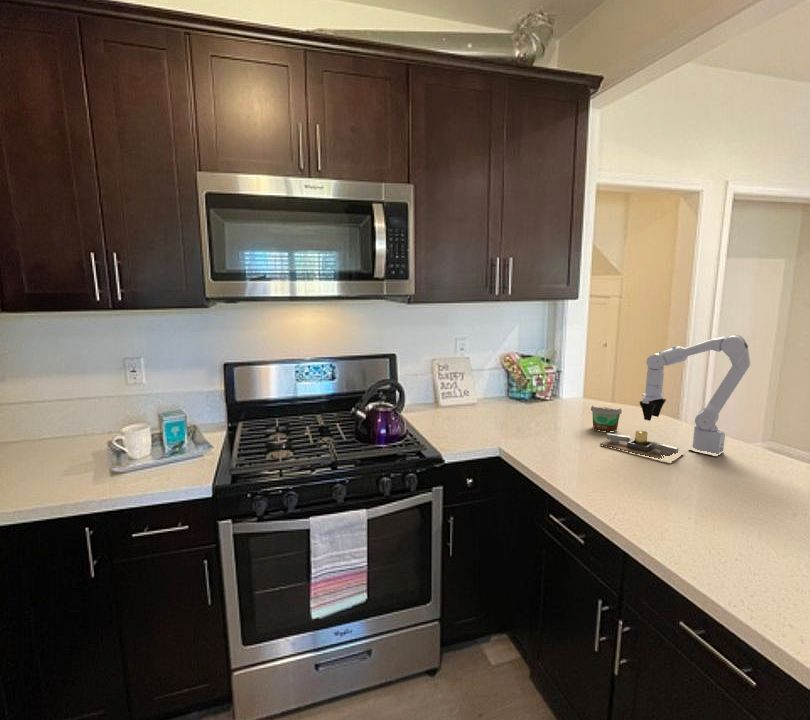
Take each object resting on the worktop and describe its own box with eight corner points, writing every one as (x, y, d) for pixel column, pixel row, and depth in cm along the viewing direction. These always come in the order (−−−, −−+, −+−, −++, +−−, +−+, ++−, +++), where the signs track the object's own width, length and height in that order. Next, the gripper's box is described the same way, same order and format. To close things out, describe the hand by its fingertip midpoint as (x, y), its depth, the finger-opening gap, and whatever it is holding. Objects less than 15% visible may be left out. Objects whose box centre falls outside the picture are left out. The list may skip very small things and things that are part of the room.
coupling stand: (683, 455, 171) (684, 444, 170) (669, 464, 163) (670, 453, 162) (615, 438, 190) (616, 428, 189) (600, 445, 181) (600, 435, 181)
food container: (587, 430, 199) (589, 408, 197) (589, 426, 204) (590, 404, 203) (619, 435, 193) (621, 411, 192) (620, 430, 199) (622, 408, 197)
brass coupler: (648, 447, 176) (649, 432, 175) (643, 450, 174) (644, 434, 172) (637, 444, 179) (638, 429, 178) (632, 447, 177) (633, 431, 175)
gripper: (651, 380, 190) (648, 412, 192) (635, 385, 181) (632, 419, 183) (670, 382, 185) (667, 416, 187) (654, 388, 175) (651, 423, 178)
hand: (651, 418), depth 185 cm, fingers open, 7 cm apart
